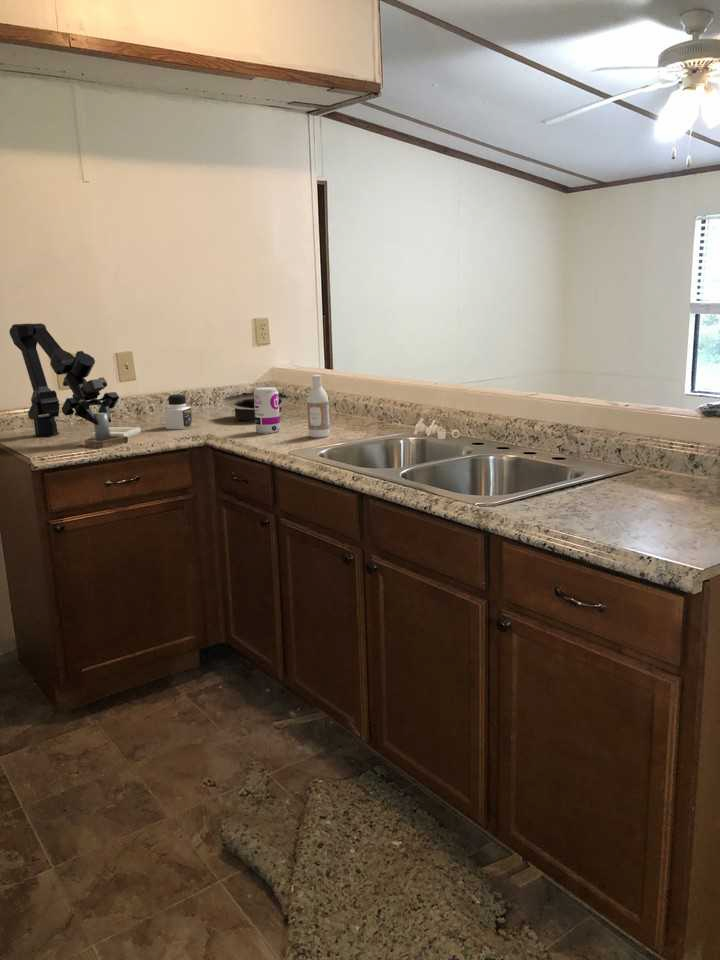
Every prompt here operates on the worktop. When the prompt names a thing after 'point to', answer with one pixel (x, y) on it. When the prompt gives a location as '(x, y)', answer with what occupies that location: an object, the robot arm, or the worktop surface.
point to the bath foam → (318, 410)
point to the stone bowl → (249, 405)
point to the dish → (121, 431)
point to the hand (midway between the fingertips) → (103, 422)
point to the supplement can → (266, 410)
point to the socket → (107, 441)
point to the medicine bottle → (178, 413)
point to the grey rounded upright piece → (102, 427)
